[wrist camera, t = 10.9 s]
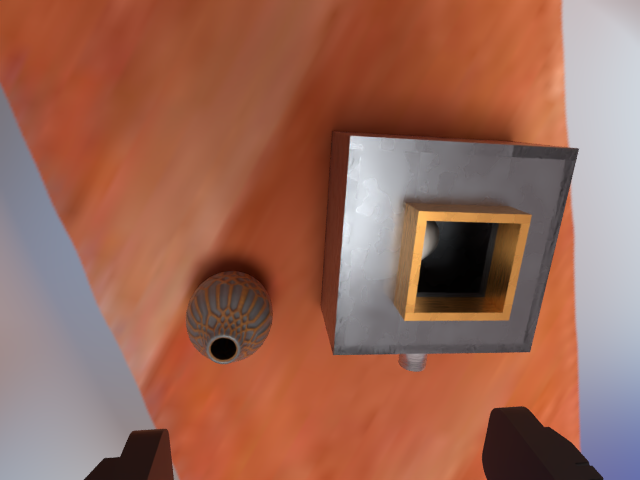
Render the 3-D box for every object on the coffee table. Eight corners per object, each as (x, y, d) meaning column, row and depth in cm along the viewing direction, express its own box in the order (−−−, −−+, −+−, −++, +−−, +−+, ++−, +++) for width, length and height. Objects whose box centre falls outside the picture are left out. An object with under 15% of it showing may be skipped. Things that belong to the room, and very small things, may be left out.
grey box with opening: (332, 131, 33) (358, 137, 23) (512, 141, 35) (607, 151, 25) (318, 340, 39) (334, 418, 29) (474, 338, 41) (539, 411, 31)
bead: (393, 204, 35) (362, 215, 31) (443, 213, 33) (416, 227, 28) (388, 251, 36) (357, 268, 32) (435, 263, 34) (408, 284, 30)
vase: (184, 316, 36) (158, 375, 28) (211, 249, 35) (191, 291, 27) (255, 339, 38) (251, 402, 30) (284, 276, 36) (287, 324, 28)
